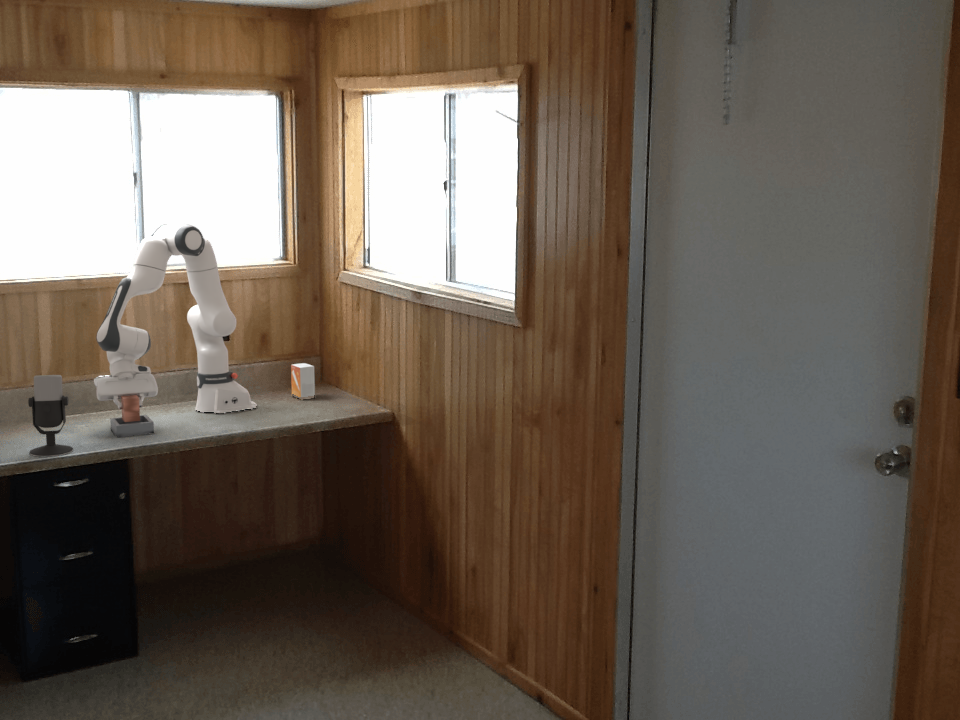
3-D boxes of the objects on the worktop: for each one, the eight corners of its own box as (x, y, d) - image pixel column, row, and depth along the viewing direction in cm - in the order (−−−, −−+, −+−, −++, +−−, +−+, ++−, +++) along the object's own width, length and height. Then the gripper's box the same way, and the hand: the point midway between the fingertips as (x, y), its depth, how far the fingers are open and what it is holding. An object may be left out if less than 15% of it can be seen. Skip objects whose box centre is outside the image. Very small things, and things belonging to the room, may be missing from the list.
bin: (146, 426, 398) (146, 414, 397) (154, 433, 387) (153, 422, 386) (110, 429, 392) (110, 418, 391) (117, 437, 381) (116, 425, 381)
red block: (137, 417, 392) (136, 395, 390) (140, 420, 387) (139, 397, 386) (122, 419, 390) (121, 396, 388) (124, 422, 385) (123, 398, 384)
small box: (291, 397, 446) (290, 364, 444) (306, 395, 450) (305, 362, 447) (300, 400, 439) (300, 367, 437) (315, 398, 443) (314, 365, 441)
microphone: (75, 445, 370) (71, 370, 366) (69, 456, 358) (64, 377, 353) (33, 447, 368) (28, 371, 363) (26, 457, 355) (20, 379, 351)
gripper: (93, 371, 388) (99, 404, 381) (154, 367, 397) (161, 399, 390) (92, 381, 392) (98, 415, 385) (152, 377, 401) (159, 409, 395)
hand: (130, 407), depth 388 cm, fingers closed on red block, 5 cm apart
